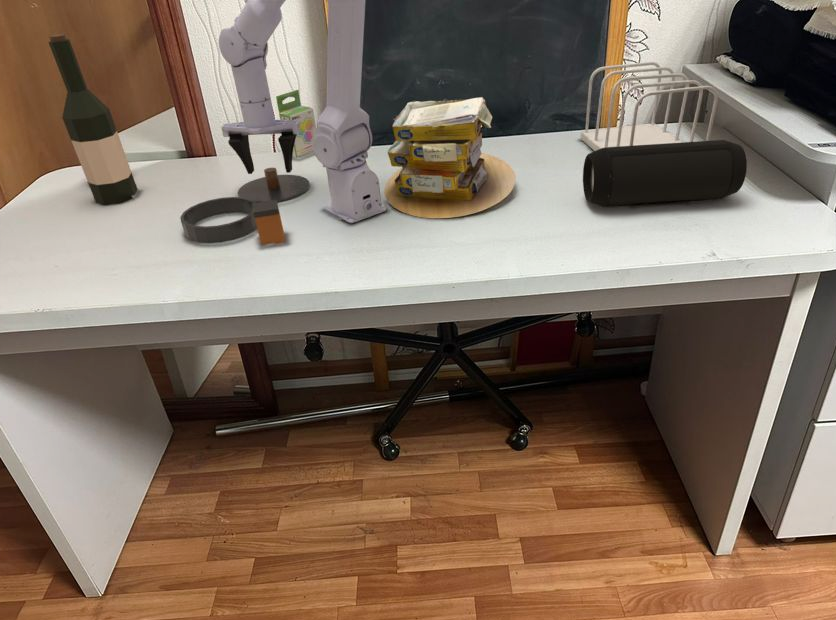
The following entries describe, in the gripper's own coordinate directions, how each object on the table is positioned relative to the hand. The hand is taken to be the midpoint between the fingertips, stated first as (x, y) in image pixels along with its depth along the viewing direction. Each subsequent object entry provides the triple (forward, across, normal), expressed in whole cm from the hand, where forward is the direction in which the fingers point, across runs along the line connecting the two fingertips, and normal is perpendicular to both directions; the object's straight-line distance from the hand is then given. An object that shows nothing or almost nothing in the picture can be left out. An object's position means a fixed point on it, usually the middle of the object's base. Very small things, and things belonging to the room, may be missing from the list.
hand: (270, 171), depth 122 cm
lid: (+4, 0, 0) cm, 4 cm away
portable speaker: (+4, +72, -11) cm, 73 cm away
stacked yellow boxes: (+4, +35, -3) cm, 36 cm away
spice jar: (+4, +6, -22) cm, 23 cm away
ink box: (+5, +1, +23) cm, 23 cm away
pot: (+4, -5, -17) cm, 18 cm away
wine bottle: (+5, -33, +1) cm, 34 cm away
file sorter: (+4, +75, +14) cm, 76 cm away
